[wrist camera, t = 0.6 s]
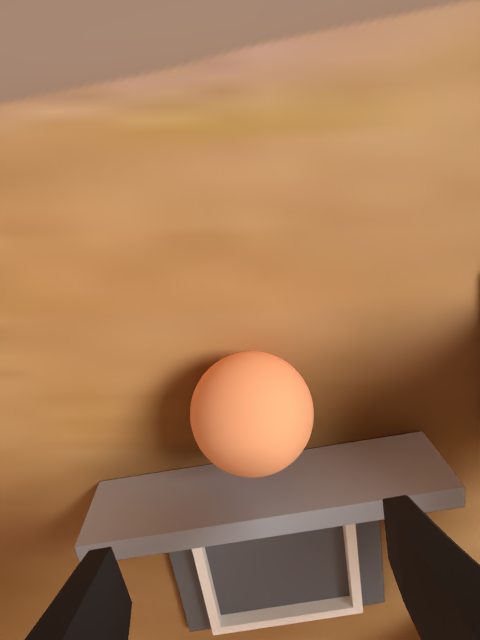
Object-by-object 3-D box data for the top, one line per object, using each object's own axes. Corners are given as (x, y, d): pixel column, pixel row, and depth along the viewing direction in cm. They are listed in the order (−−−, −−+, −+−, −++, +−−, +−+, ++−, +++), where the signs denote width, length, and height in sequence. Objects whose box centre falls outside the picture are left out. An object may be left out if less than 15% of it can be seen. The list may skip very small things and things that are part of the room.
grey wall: (422, 431, 22) (465, 487, 18) (423, 448, 22) (465, 506, 18) (99, 481, 22) (74, 547, 18) (104, 497, 22) (80, 565, 18)
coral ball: (295, 325, 20) (319, 375, 15) (307, 422, 21) (332, 495, 17) (183, 343, 20) (172, 398, 15) (204, 438, 21) (199, 516, 17)
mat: (373, 464, 22) (381, 479, 21) (382, 595, 25) (389, 614, 24) (156, 498, 22) (153, 514, 21) (190, 624, 25) (189, 644, 24)
